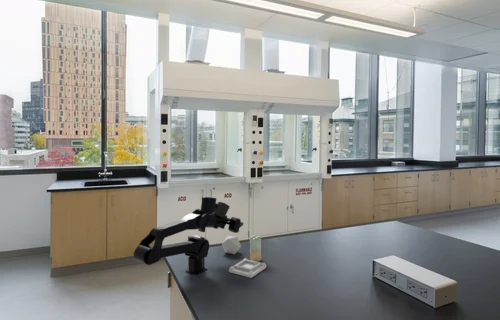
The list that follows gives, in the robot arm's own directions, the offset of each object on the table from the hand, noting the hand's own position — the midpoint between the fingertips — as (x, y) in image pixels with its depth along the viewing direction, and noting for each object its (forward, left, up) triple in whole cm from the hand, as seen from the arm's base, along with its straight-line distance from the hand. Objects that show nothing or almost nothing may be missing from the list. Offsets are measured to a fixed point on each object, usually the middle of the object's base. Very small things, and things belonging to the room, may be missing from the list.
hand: (236, 221), depth 152 cm
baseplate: (-12, -14, -16) cm, 25 cm away
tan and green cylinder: (-1, -11, -16) cm, 20 cm away
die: (+1, +4, -16) cm, 16 cm away
